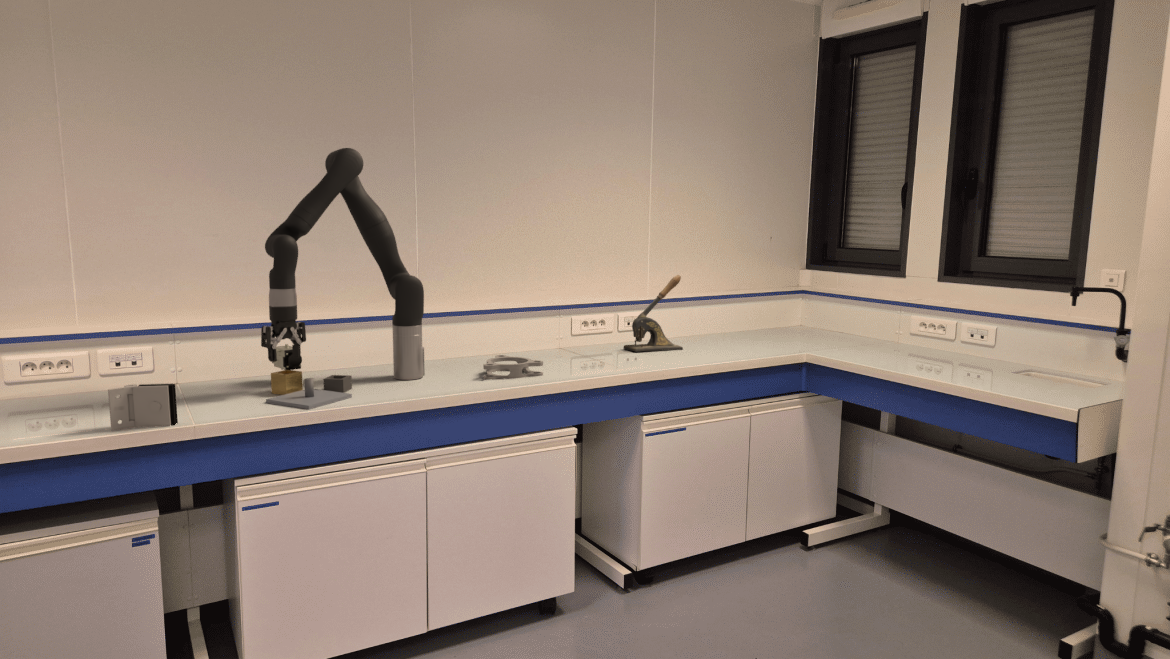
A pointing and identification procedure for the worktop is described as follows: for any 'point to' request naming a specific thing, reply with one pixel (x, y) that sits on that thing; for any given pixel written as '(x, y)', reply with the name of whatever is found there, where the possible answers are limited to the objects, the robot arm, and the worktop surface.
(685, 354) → the worktop surface
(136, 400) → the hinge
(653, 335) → the embossing press
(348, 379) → the grey hollow square block
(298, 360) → the pneumatic valve
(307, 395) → the post block
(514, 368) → the mechanical component
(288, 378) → the brass collar
